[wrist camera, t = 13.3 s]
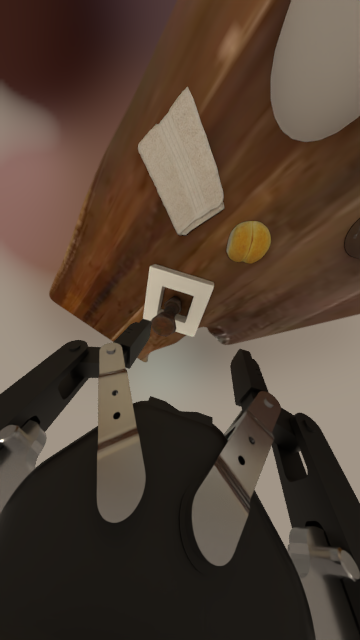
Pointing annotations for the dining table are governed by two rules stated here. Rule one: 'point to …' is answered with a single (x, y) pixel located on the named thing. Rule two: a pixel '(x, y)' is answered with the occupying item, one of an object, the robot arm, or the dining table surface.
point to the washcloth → (183, 166)
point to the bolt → (167, 318)
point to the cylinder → (317, 69)
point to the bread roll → (248, 242)
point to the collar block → (182, 283)
